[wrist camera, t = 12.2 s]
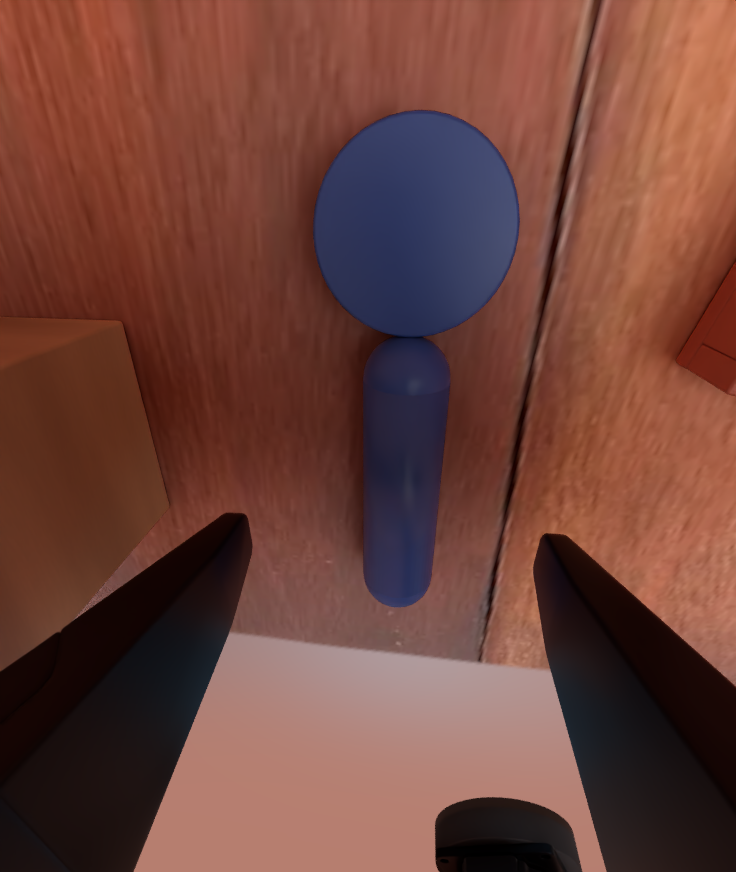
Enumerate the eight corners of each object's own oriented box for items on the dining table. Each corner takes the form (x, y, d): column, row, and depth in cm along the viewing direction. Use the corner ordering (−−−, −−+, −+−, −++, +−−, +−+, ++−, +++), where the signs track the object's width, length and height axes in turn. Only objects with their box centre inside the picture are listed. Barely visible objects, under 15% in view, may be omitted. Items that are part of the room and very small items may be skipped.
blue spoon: (460, 577, 14) (464, 630, 12) (337, 565, 14) (325, 615, 13) (524, 119, 8) (551, 96, 7) (320, 122, 9) (293, 101, 7)
